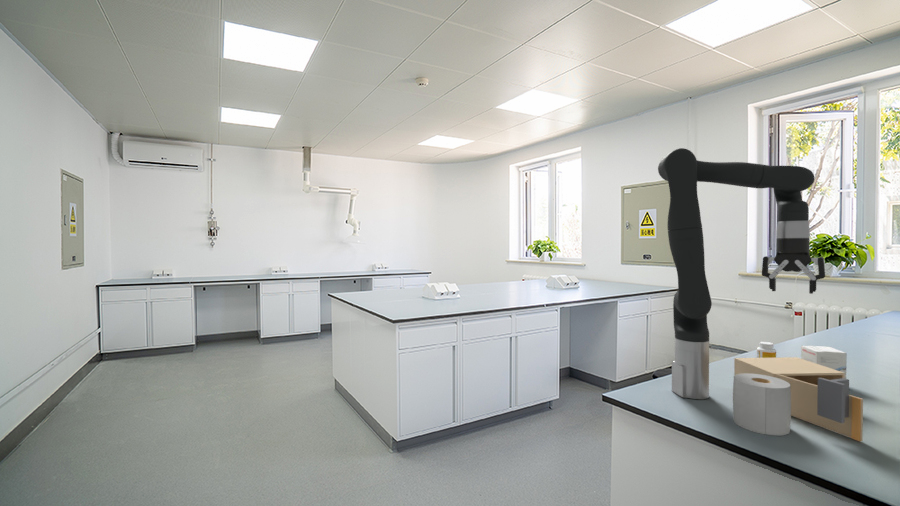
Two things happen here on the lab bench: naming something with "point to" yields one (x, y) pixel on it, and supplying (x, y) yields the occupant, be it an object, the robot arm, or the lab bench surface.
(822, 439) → the lab bench surface
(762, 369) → the carton
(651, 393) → the lab bench surface
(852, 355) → the lab bench surface
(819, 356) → the ink box
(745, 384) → the toilet paper roll
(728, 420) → the lab bench surface
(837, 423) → the carton flap
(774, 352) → the supplement bottle
